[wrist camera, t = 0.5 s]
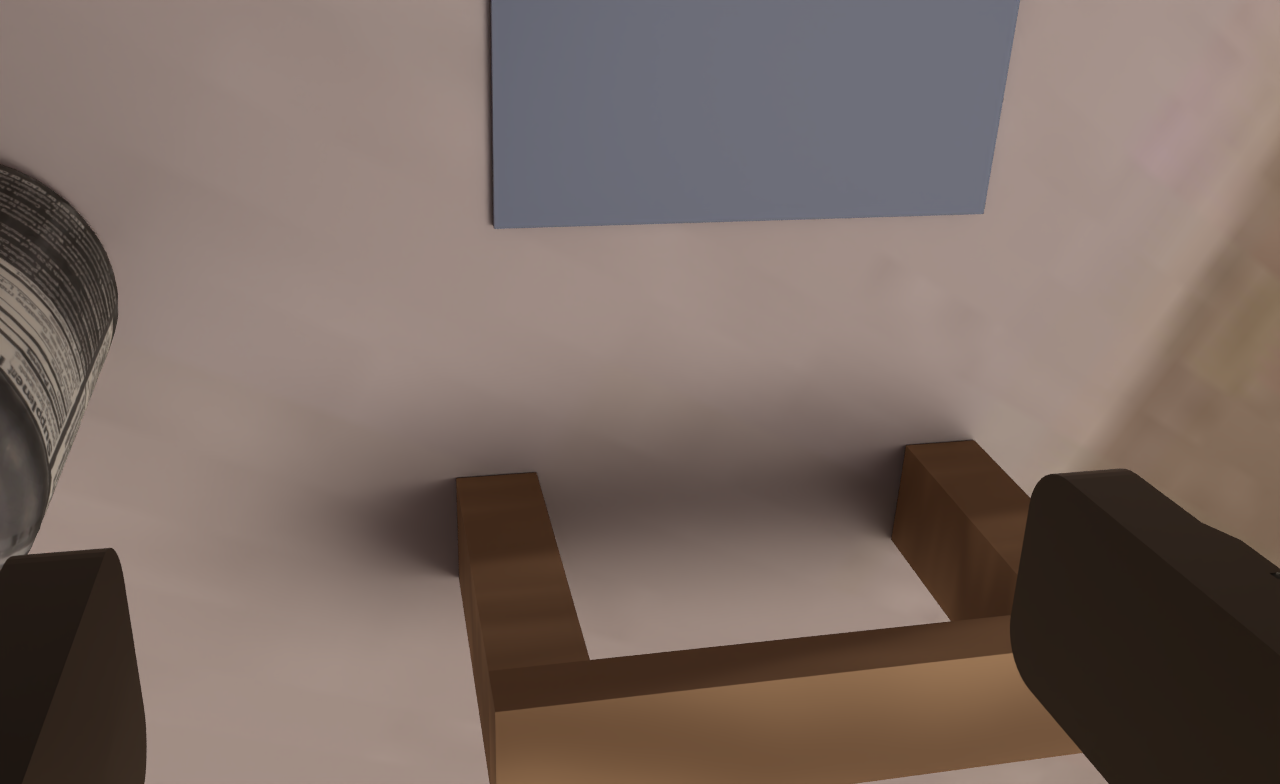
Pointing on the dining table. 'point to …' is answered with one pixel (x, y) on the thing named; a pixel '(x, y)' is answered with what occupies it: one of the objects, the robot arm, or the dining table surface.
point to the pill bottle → (45, 345)
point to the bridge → (758, 658)
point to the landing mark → (744, 109)
